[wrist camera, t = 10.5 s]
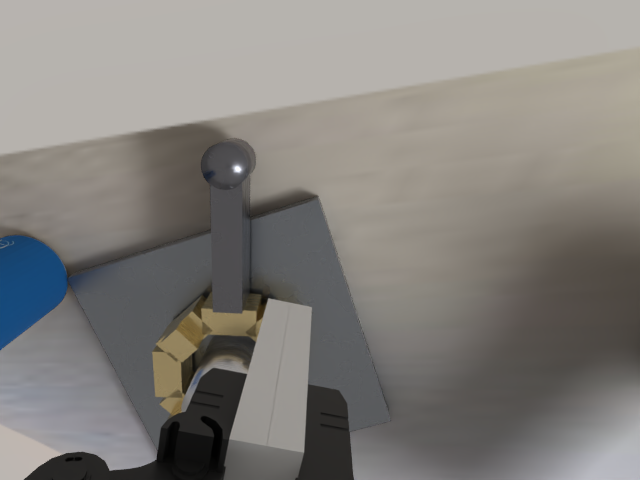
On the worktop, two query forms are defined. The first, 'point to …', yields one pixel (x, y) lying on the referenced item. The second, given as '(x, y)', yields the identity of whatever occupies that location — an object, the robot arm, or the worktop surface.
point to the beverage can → (27, 284)
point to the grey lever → (215, 276)
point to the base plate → (265, 278)
